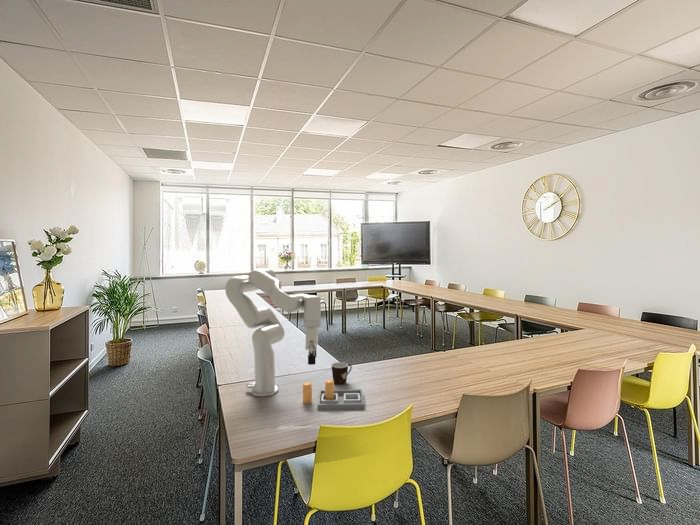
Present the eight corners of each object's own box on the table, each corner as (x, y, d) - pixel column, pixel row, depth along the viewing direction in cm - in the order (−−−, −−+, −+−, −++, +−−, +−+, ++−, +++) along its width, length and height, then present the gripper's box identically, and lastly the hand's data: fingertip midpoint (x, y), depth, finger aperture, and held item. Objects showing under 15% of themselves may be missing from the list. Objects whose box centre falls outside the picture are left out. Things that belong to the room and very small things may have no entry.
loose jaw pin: (302, 406, 150) (302, 386, 150) (303, 401, 154) (303, 382, 154) (311, 405, 150) (311, 385, 150) (312, 401, 154) (312, 382, 154)
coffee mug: (333, 388, 169) (333, 368, 169) (329, 381, 177) (329, 363, 177) (355, 385, 172) (355, 366, 172) (351, 379, 180) (351, 360, 180)
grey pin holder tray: (317, 411, 145) (317, 404, 145) (319, 396, 160) (319, 390, 160) (364, 410, 146) (364, 404, 145) (361, 395, 160) (361, 389, 160)
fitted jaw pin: (325, 403, 150) (324, 383, 150) (325, 399, 154) (325, 379, 154) (334, 403, 151) (333, 383, 150) (334, 399, 155) (334, 379, 154)
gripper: (305, 319, 161) (305, 354, 161) (302, 327, 143) (302, 367, 144) (321, 318, 161) (321, 354, 162) (320, 327, 144) (320, 367, 145)
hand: (312, 360), depth 153 cm, fingers open, 9 cm apart
